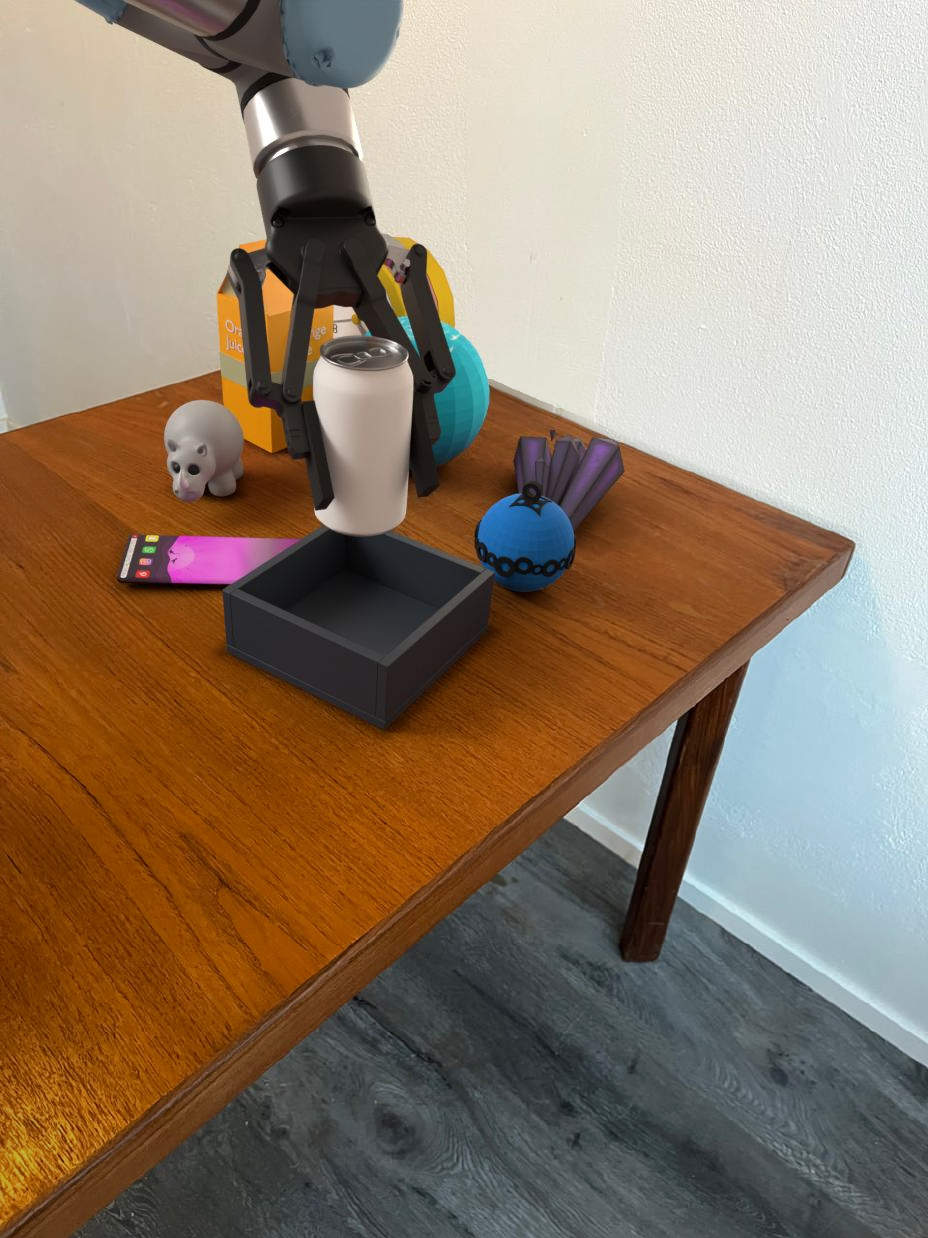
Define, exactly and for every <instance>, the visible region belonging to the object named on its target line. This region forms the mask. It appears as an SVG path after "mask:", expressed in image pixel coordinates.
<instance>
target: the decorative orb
mask: <svg viewBox="0 0 928 1238" xmlns="http://www.w3.org/2000/svg"><path fill="white" fill-rule="evenodd" d="M398 319H399V321H400V323H401V325H402V326H403V328H404V330H405V332H406V333H407V335H408V337H409V339H410V340H411V342H412V344H413V346H414V347H415V349H416V351H417V353H418V354H419V352H418V348H417V345H416V342H415V339H414V335H413V332H412V329H411V326H410V322H409V319H408V316H404V317H398ZM441 324H442V327H443V331H444V334H445V337H446V340H447V343H448V347H449V350H450V353H451V356H452V360H453V363H454V366H455V369H456V375H455V377H454V378H453V379H452V381H451V382H450V383H449V384H448V385H447V387H446V388H445V389H444V390H443V391H442V392H440V393H435V394H434V400H435V405H436V409H437V414H438V419H439V423H440V428H441V435H440V439H439V440H438V441H437V442H436V443H435V444H434V445H432V450H433V454H434V459H435V464H436V468H437V467H439V466H443V465H445V464H447V463H449V462H452V461H453V460H454V459H456V458H457V457H458V456H459V455H461V454H462V453H463V452H465V451H466V450H467V449H468V448H469V447H470V446H471V445H472V444H473V442H474V441H475V440H476V438H477V436H478V435H479V433H480V431H481V428H482V426H483V424H484V423H485V420H486V417H487V415H488V409H489V404H490V385H489V379H488V376H487V371H486V368H485V366H484V363H483V360H482V358H481V355H480V354H479V352H478V350H477V348H476V347H475V346H474V345H473V343H471V341H470V340H469V339H468V338H466V336H464V334H463V333H461V331H459V330H457V329H456V328H455V327H454V328H453V327H452V326H450V325H448V324H446V323H444V322H442V321H441ZM364 336H372V335H371V334H370V332H369V331H368V332H367V333H366V334H365V335H364ZM419 356H420V355H419ZM409 471H412V468H411V463H410V459H409Z"/></svg>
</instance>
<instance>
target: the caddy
mask: <svg viewBox="0 0 928 1238" xmlns="http://www.w3.org/2000/svg"><path fill="white" fill-rule="evenodd" d="M299 539H300V540H299V541H297V542H296V543H294V544H293V545H291V546H290V547H288V548H286V549H285V550H283V551H282V552H280V553H279V554H277V555H276V556H274V557H273V558H271V559H269V560H268V561H266V562H265V563H263V564H262V565H260V566H259V567H257V568H255V569H254V570H252V571H251V572H249V573H248V574H246V575H245V576H243V577H242V578H240V579H238V580H237V581H235V582H234V583H232V584H231V585H227V586H226V587H224V588H222V604H223V618H224V619H223V620H224V632H225V649H226V653H227V654H229V655H232V656H234V657H235V658H237V659H240V660H241V661H243V662H245V663H248V664H249V665H252V666H254V667H255V668H258V669H260V670H262V671H263V672H266V673H268V674H270V675H272V676H274V677H275V678H278V679H280V680H281V681H284V682H286V683H288V684H290V685H292V686H294V687H296V688H298V689H299V690H302V691H304V692H305V693H308V694H310V695H311V696H314V697H316V698H318V699H320V700H322V701H324V702H326V703H328V704H330V705H332V706H335V707H336V708H339V709H341V710H342V711H344V712H346V713H348V714H350V715H352V716H355V717H357V718H358V719H360V720H363V721H365V722H367V723H369V724H371V725H373V726H374V727H377V728H379V729H381V730H383V731H385V730H387V728H389V727H390V726H391V725H392V724H393V723H394V722H395V720H397V719H398V718H399V717H400V716H401V715H402V714H403V713H404V712H405V711H406V710H407V709H408V708H410V706H411V705H412V704H414V703H415V702H416V701H417V700H418V699H419V698H420V697H421V696H422V695H423V694H424V693H425V692H426V691H427V690H428V689H430V687H431V686H432V685H433V684H435V682H436V681H438V679H440V677H442V676H443V675H444V674H445V673H446V672H447V671H448V670H449V669H450V668H451V667H452V666H453V665H454V664H455V663H457V661H458V660H459V659H460V658H462V657H463V655H464V654H466V653H467V652H468V651H469V650H470V649H471V648H472V647H473V646H474V645H475V644H476V643H477V642H478V641H479V640H480V639H481V638H482V637H483V636H484V635H485V634H486V633H487V632H488V629H489V621H490V614H491V607H492V597H493V589H494V583H495V581H494V575H495V572H493V571H491V570H488V569H486V568H483V566H482V565H479V564H476V563H473V562H471V561H469V560H466V559H463V558H461V557H458V556H455V555H454V554H450V553H449V552H445V551H444V550H441V549H438V548H435V547H433V546H432V545H431V546H430V545H429V544H426V543H423V542H421V541H418V540H415V539H413V538H411V537H408V536H406V535H403V534H401V533H398V532H396V531H394V530H392V531H390V532H387V533H385V534H382V535H377V536H371V537H354V536H347V535H343V534H340V533H337V532H335V531H333V530H331V529H329V528H327V527H326V526H324V525H323V524H322V525H321V526H319V527H317V528H316V529H314V530H313V531H312V532H310V533H308V534H307V535H305V536H304V537H302V538H299Z"/></svg>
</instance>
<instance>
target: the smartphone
mask: <svg viewBox="0 0 928 1238" xmlns="http://www.w3.org/2000/svg"><path fill="white" fill-rule="evenodd" d="M300 539H301V538H275V537H272V538H271V537H241V536H239V537H236V536H203V535H198V536H197V535H166V534H165V535H164V534H133V533H131V534H129V535H128V538H127V541H126V544H125V548H124V551H123V555H122V557H121V561H120V564H119V567H118V570H117V573H116V580H117V582H118V583H119V584H143V585H150V584H151V585H186V586H187V585H189V586H192V585H193V586H229V585H231V584H232V583H234V582H235V581H237V580H238V579H240V578H242V577H243V576H245V575H246V574H248V573H249V572H251V571H252V570H254V569H255V568H257V567H259V566H260V565H262V564H263V563H265V562H266V561H268V560H269V559H271V558H273V557H274V556H276V555H277V554H279V553H280V552H282V551H283V550H285V549H286V548H288V547H290V546H291V545H293V544H294V543H296V542H297V541H299V540H300Z"/></svg>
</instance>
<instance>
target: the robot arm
mask: <svg viewBox="0 0 928 1238" xmlns="http://www.w3.org/2000/svg"><path fill="white" fill-rule="evenodd" d="M74 2H76V3H78V4H79V5H82V6H84V7H85V8H86V9H89V10H90V11H92V12H93V13H95V14H97V15H98V16H101V17H102V18H103V19H104V21H105V22H106V23H107V24H108V25H114V24H115V25H117V26H120V27H121V28H124V29H126V30H128V31H130V32H132V33H134V34H136V35H138V36H140V37H142V38H145V39H146V40H148V41H150V42H153V43H155V44H157V45H159V46H161V47H162V48H165V49H167V50H169V51H172V52H173V53H176V54H178V55H179V56H181V57H184V58H186V59H188V60H190V61H192V62H195V63H196V64H199V65H200V66H201V67H202V68H204V69H206V70H208V71H210V72H212V73H215V74H217V75H219V76H221V77H223V78H225V79H227V80H229V81H231V82H232V83H233V85H234V86H235V91H236V94H237V95H236V96H237V100H238V103H239V109H240V113H241V118H242V121H243V125H244V129H245V133H246V134H245V135H246V139H247V145H248V150H249V155H250V160H251V166H252V172H253V174H254V178H255V179H256V185H255V186H256V192H257V198H258V201H259V207H260V212H261V217H262V223H263V227H264V233H265V236H266V239H267V241H266V243H265V248H263V249H260V250H256V251H253V252H250V253H247V251H245V250H244V249H241V248H239V247H238V248H237V247H236V248H234V249H233V250H232V251H231V252H230V256H229V260H228V265H227V271H226V274H227V278H228V280H229V282H230V284H231V286H232V288H233V290H234V292H235V294H236V296H237V298H238V301H239V311H240V321H241V331H242V341H243V351H244V361H245V371H246V381H247V391H248V400H249V403H250V404H251V405H252V406H253V407H255V408H262V407H267V408H271V409H274V410H276V413H277V415H278V416H279V417H280V418H281V419H282V424H283V429H284V434H285V439H286V444H287V448H286V449H287V454H288V455H289V457H290V458H291V459H292V460H293V461H295V460H304V462H305V467H306V473H307V478H308V482H309V487H310V492H311V497H312V502H313V509H314V508H315V511H317V510H325V509H327V508H328V506H329V505H330V504H331V502H332V501H333V499H334V498H335V497H334V492H333V487H332V482H331V478H330V473H329V468H328V463H327V458H326V453H325V448H324V443H323V438H322V433H321V428H320V423H319V419H318V414H317V409H316V405H315V400H314V401H303V403H302V401H301V396H302V390H303V383H304V376H305V370H306V363H307V356H308V349H309V343H310V336H311V329H312V322H313V315H314V309H320V308H325V307H328V306H331V305H336V306H341V307H352V308H353V310H354V312H355V314H356V315H357V317H358V318H359V320H361V321H363V322H364V323H365V325H366V327H367V328H368V330H369V332H370V334H371V335H372V336H374V337H380V338H384V339H388V340H391V341H394V342H396V343H398V344H400V345H402V346H403V347H404V348H405V349H406V350H407V351H408V355H409V356H408V359H407V362H408V364H409V366H410V369H411V371H412V374H413V404H412V423H411V441H410V458H409V459H410V463H411V468H412V470H411V472H412V473H411V474H412V478H413V482H414V487H415V490H416V491H415V492H416V496H417V498H418V499H420V498H426V497H429V496H430V495H431V494H433V492H435V491H436V489H438V488H439V487H440V486H441V483H440V477H439V474H438V473H439V472H438V468H437V467H436V464H435V459H434V454H433V450H432V445H434V444H435V443H436V442H437V441H438V440H439V439H440V435H441V428H440V423H439V419H438V414H437V409H436V405H435V400H434V394H435V393H440V392H442V391H443V390H444V389H445V388H446V387H447V385H448V384H449V383H450V382H451V381H452V379H453V378H454V377H455V375H456V369H455V366H454V363H453V360H452V356H451V353H450V350H449V347H448V343H447V340H446V337H445V334H444V331H443V327H442V324H441V321H440V318H439V315H438V311H437V308H436V305H435V302H434V298H433V295H432V292H431V289H430V286H429V282H428V279H427V276H426V275H427V250H426V247H425V246H424V244H421V243H418V244H414V245H413V246H412V247H411V249H410V250H408V249H403V248H399V247H394V246H390V245H388V243H387V241H386V239H385V237H384V236H383V235H382V234H381V233H382V232H381V231H380V229H379V227H378V225H377V219H376V212H375V207H374V201H373V197H372V192H371V187H370V183H369V179H368V178H369V177H368V173H367V170H366V166H365V164H364V162H363V155H364V154H363V150H362V149H363V148H362V145H361V141H360V137H359V132H358V128H357V124H356V119H355V115H354V114H355V113H354V109H353V106H352V101H351V98H350V97H351V96H350V93H349V89H354V88H359V87H361V86H364V85H366V84H367V83H369V82H371V81H372V80H374V79H375V78H376V77H377V76H379V74H380V73H381V72H382V71H383V70H384V69H385V67H386V66H387V64H389V61H390V60H391V58H392V56H393V54H394V52H395V49H396V46H397V40H398V39H399V37H400V29H401V27H402V24H403V19H404V5H405V4H404V0H74ZM383 265H386V266H388V267H389V268H390V269H391V271H392V274H393V277H394V281H395V282H396V283H400V285H401V295H402V300H403V303H404V306H405V310H406V313H407V316H408V319H409V322H410V326H411V329H412V332H413V335H414V339H415V342H416V345H417V348H418V352H419V354H418V353H417V351H416V349H415V347H414V346H413V344H412V342H411V340H410V339H409V337H408V335H407V333H406V332H405V330H404V328H403V326H402V325H401V323H400V321H399V319H398V318H397V316H396V314H395V312H394V311H393V309H392V307H391V305H390V304H389V302H388V300H387V295H386V290H385V288H384V286H383V284H382V283H381V281H380V279H379V277H378V276H377V275H378V273H379V272H380V270H381V268H382V266H383ZM266 269H269V270H270V271H271V272H272V273H273V274H274V275H275V276H276V277H277V278H278V279H279V280H280V281H281V282H282V283H283V284H284V285H285V286H286V287H287V288H288V289H289V290H290V291H291V292H292V293H293V294H294V295H293V301H292V308H291V314H290V325H289V332H288V338H287V345H286V351H285V358H284V365H283V371H282V378H281V384H278V383H274V382H272V379H271V370H270V360H269V350H268V341H267V331H266V321H265V311H264V302H263V292H262V286H263V284H264V281H265V277H266V272H265V270H266ZM419 355H420V356H419ZM315 511H314V512H315Z"/></svg>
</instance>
